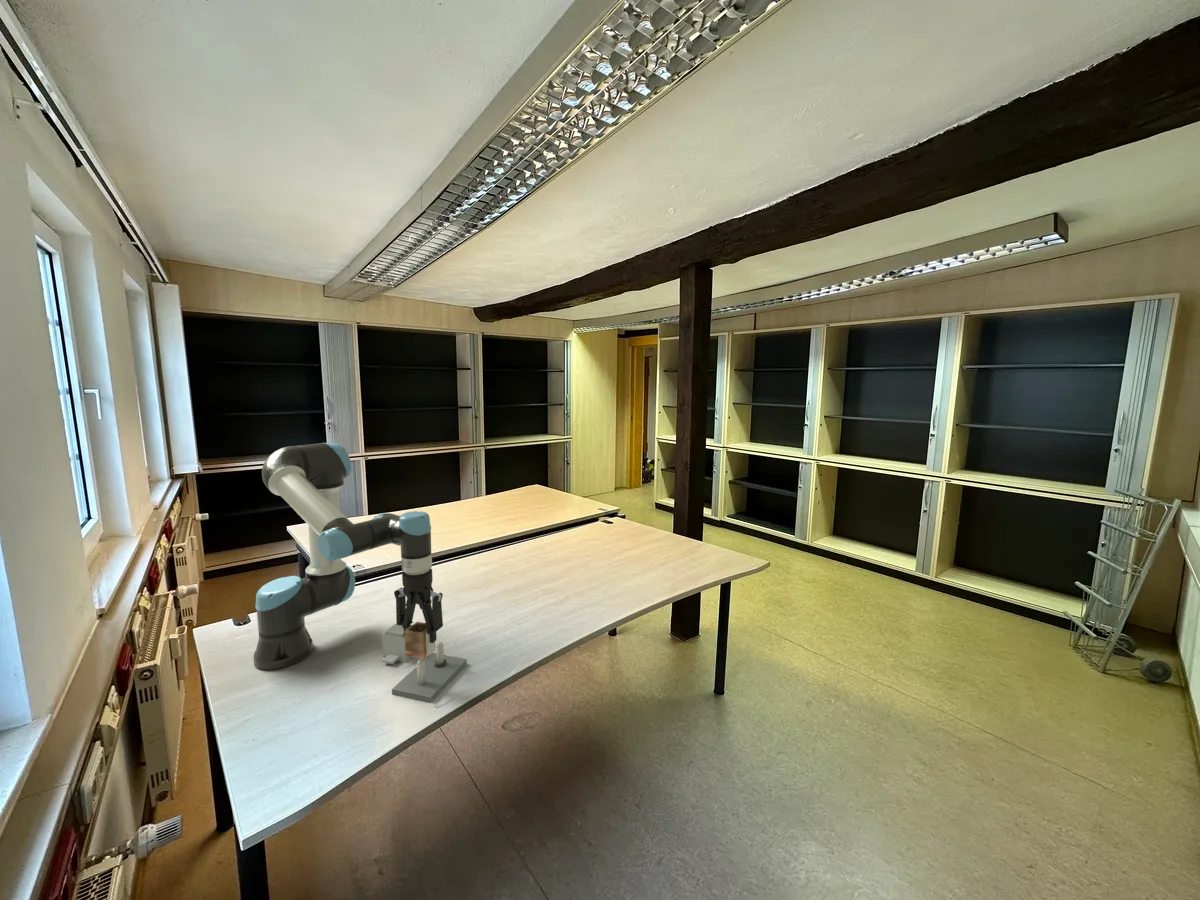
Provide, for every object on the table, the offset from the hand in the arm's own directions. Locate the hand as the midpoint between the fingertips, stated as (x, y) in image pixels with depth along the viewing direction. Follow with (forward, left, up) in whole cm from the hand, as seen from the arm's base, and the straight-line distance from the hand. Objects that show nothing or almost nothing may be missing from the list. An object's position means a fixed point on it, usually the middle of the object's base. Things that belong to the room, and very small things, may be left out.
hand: (420, 650), depth 126 cm
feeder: (-16, +10, -11) cm, 22 cm away
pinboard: (0, +5, -11) cm, 12 cm away
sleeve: (0, 0, 0) cm, 0 cm away
